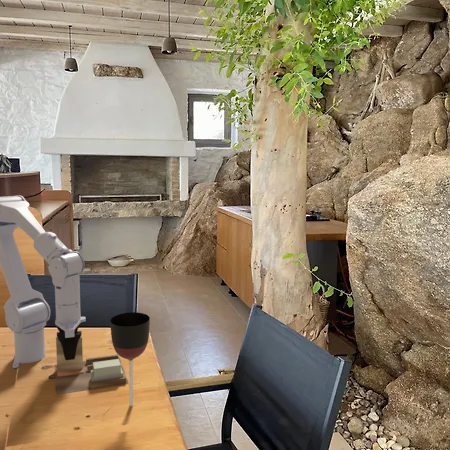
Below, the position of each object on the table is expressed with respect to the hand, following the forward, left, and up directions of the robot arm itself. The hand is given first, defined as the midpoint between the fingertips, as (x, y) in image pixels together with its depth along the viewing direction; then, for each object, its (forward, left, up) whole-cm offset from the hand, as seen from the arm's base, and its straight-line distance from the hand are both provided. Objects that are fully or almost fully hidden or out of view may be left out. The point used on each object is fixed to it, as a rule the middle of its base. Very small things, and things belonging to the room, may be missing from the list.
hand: (69, 355), depth 112 cm
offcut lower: (+9, +8, -4) cm, 12 cm away
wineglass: (+22, +12, -5) cm, 25 cm away
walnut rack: (+4, +4, -5) cm, 8 cm away
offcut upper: (+9, +8, -2) cm, 12 cm away
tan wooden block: (0, 0, -3) cm, 3 cm away
